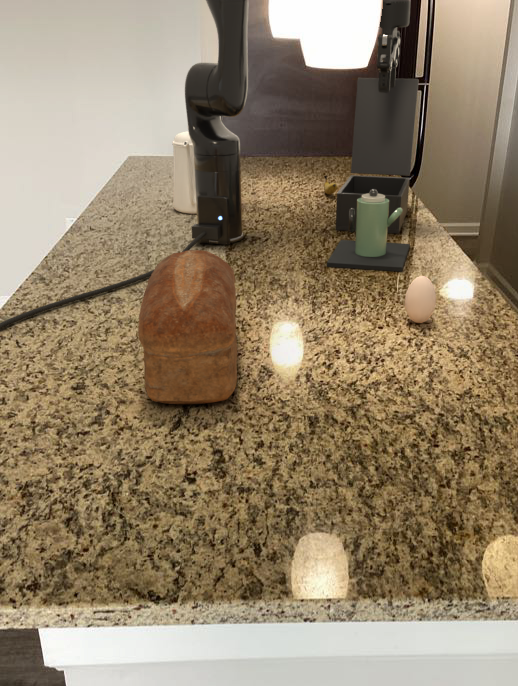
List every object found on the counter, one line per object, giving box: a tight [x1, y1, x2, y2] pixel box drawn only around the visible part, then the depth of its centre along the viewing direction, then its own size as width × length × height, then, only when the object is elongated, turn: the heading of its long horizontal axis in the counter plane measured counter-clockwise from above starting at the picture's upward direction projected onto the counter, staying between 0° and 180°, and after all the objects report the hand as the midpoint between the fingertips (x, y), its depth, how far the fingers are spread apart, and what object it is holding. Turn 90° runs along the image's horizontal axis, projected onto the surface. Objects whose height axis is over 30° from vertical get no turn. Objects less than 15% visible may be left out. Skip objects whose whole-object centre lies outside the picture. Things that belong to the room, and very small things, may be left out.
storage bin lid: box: [350, 77, 420, 177], centre depth 179 cm, size 20×14×1 cm
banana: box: [323, 175, 338, 196], centre depth 198 cm, size 10×2×4 cm, turn 10°
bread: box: [137, 249, 238, 405], centre depth 105 cm, size 12×31×14 cm, turn 4°
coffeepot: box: [172, 125, 197, 215], centre depth 181 cm, size 11×25×19 cm, turn 179°
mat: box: [326, 239, 411, 273], centre depth 152 cm, size 16×14×1 cm
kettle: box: [348, 189, 403, 257], centre depth 149 cm, size 10×6×12 cm, turn 78°
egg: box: [404, 275, 437, 324], centre depth 120 cm, size 5×5×7 cm
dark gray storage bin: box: [335, 174, 410, 234], centre depth 175 cm, size 20×14×8 cm
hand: (386, 89), depth 160 cm, fingers open, 8 cm apart
